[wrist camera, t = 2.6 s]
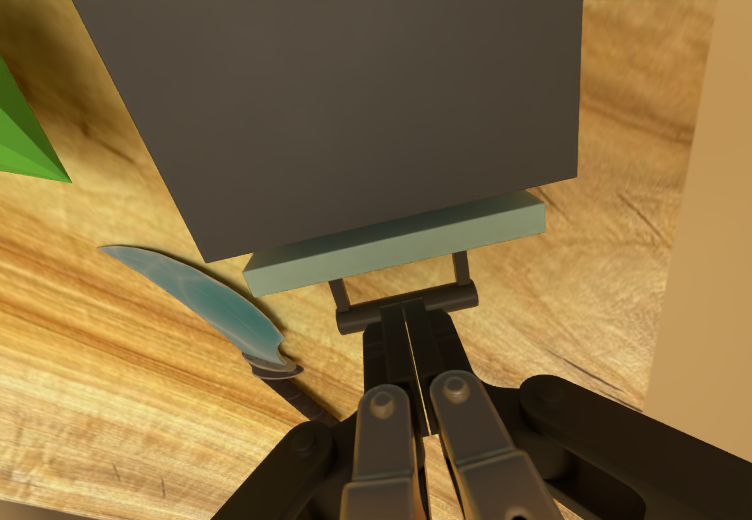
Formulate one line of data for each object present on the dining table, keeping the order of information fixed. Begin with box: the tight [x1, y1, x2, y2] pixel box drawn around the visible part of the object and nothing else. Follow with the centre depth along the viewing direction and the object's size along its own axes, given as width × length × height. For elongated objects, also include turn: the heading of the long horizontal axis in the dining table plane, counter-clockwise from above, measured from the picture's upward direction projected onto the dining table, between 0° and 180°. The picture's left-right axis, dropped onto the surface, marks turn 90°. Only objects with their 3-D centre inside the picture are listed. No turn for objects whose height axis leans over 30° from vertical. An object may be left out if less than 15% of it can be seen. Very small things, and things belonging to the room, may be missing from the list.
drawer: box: [242, 189, 545, 335], centre depth 15 cm, size 19×11×8 cm, turn 13°
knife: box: [97, 245, 340, 428], centre depth 25 cm, size 22×2×5 cm
